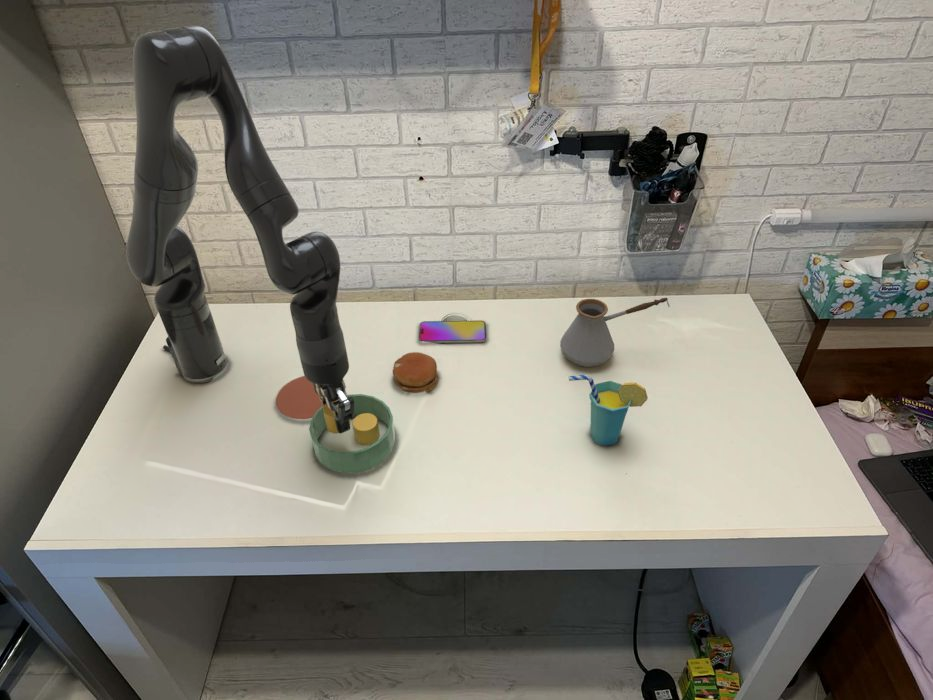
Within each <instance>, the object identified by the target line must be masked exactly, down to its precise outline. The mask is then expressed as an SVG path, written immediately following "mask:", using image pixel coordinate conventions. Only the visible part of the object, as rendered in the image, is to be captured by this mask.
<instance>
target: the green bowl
mask: <svg viewBox="0 0 933 700" xmlns="http://www.w3.org/2000/svg"><path fill="white" fill-rule="evenodd" d="M347 397H348V398H351V397H352V398H353V399H354V416H358V415H360V414H363V413H370V414H373V415H375V416H376V418H377V420H381V421H382V422H384V423H385V425H386V426H387V429H386V431H385V433H384V434H383V435H382V436H381V437H380V438H379V439H378V440H377V441H375V442H373V443H371V444H370V445H369V446H367V447H365V448H362V449H358V450H354V451H340V450H339V451H338V450H334V449H329V448H328V447H326V446H325V445H324V446H323V445H322V444H320V442H319V438H320V437H321V435H322V433H323V432H324V430H325V429H327V426H326V421H325V417H324V413H323V406H322V407H321V408H320V409H318V410H317V411H316V413H315V414H314V416H313V418H310V423H309V428H308V430H309V434H310V438H311V442H312V447H313V450H314V454H315V457H316V459H317V460H318V461H319V463H320V464H321V465H322V466H324V467H325V468H327V469H329V470H331V471H333V472H338V473H342V474H351V473H353V474H355V473H360V472H361V473H362V472H365V471H367V470H371V469H372V468H374V467H377V466H378V465H379V464H381V463H383V462H384V461H385V460H386V459H387V458H388V456H390V455H391V453H392V451H393V449H394V447H395V444H396V431H395V423H394V418H393V417H394V416H393V413H392V411H391V408H390V406H388V405H387V404H386V403H385V402H384V401H383V400H382V399H380V398H378V397H376V396H373V395H368V394H363V393H357V394H356V393H355V394H347Z"/></svg>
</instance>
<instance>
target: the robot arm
mask: <svg viewBox="0 0 933 700" xmlns="http://www.w3.org/2000/svg"><path fill="white" fill-rule="evenodd" d="M132 75H133V86H134V99H135V111H136V112H135V113H136V141H135V142H136V144H135V158H134V170H133V171H134V172H133V173H134V175H133V181H134V182H133V183H134V184H133V185H134V187H133V189H134V191H133V205H132V215H131V222H130V227H129V231H128V237H127V242H126V247H125V255H126V256H125V258H126V262H127V265H128V269H129V270H130V272H131V274H132V275H133V276H134V277H135V279H136V280H137V281H138V282H139V283H141V284H143V285H145V286H148V287H159V288H158V289H157V290H156V292H155V294H154V297H153V298H154V299H153V300H154V301H153V302H154V304H155V305H154V306H155V307H156V310H157V313H158V315H159V317H160V319H161V322H162V324H163V327H164V329H165V332H166V334H167V337H166V338H165V343H166V345H165V344H164V345H163V346H162V348H163V349H164V351H165V350H166V351H167V352H169V353H170V354H171V358H172V359H173V362H174V364H175V367H176V369H177V372H178V374H179V375H181V376H182V377H183V378H184V380H186V381H187V382H190V383H194V384H204V383H209V382H211V381H212V380H213V379H214V378H215V377H216V376H218V375H220V374H221V373H223V371H224V370H225V369H226V368H227V365H228V358H227V356H226V354H225V350H224V347H223V344H222V341H221V339H220V336H219V333H218V330H217V326H216V324H215V320H214V318H213V314H212V312H211V309H210V305H209V302H208V299H207V297H206V293H205V291H206V284H205V280H204V276H203V272H202V269H201V265H200V262H199V261H200V260H199V257H198V254H197V251H196V249H195V245H194V243H193V241H192V240H191V238H190V237H189V235H188V234H187V233H186V232H185V230H184V229H182V228H181V227H180V226H178V225H179V224H180V222H181V221H182V219H184V217H185V215H186V213H187V212H188V210H189V209H190V207H191V205H192V203H193V201H194V198H195V194H196V190H197V182H198V175H199V163H198V159H197V157H196V154H195V152H194V150H193V149H192V147H191V145H189V143H188V142H187V141H186V139H185V138H184V137H183V136H182V135H181V134H180V132H179V131H178V130H177V128H176V127H175V126H176V125H175V124H176V123H175V116H176V111H177V108H178V106H179V105H180V104H182V103H185V102H189V101H194V100H198V99H203V98H208V100H209V101H210V103H211V104H212V106H213V107H214V108H215V110H216V112H217V114H218V117H219V119H220V122H221V126H222V130H223V143H224V148H223V149H224V153H223V154H224V170H225V176H226V179H227V184H228V185H229V188H230V190H231V192H232V194H233V196H234V198H235V199H236V201H237V203H238V204H239V206H240V207H241V209H242V211H243V212H244V214H245V216H246V217H247V219H248V220H249V222H250V224H251V226H252V228H253V231H254V233H255V235H256V239H257V241H258V244H259V246H260V250H261V254H262V257H263V261H264V265H265V269H266V272H267V275H268V277H269V280H270V281H271V283H272V284H273V285H274V286H275V287H276V289H278V290H279V291H281V292H282V293H285V294H287V295H294V296H293V297H292V299H291V300H290V303H289V311H290V316H291V320H292V324H293V328H294V333H295V342H296V343H295V344H296V347H297V352H298V355H299V359H300V363H301V368H302V372H303V376H305V377H306V379H307V380H309V381H310V382H312V383H313V386H314V389H315V392H316V393H317V394H318V395H319V397H320V401H321V402H322V403H323V407H324V405H325V404H326V403H327V405H328V408H330V409H331V410H332V411H333V414H334V418H335V422H336V427H337V431H338V432H339V433H338V434H340V435H341V434H344V433H346V432H348V431H350V429H351V423H350V424H349V420H350V421H351V420H354V418H355V415H354V399H353V398H352V397H351V398H348V397H347V395H348V394H347V391H346V388H347V386H346V382H345V380H344V378H345V376H346V375H347V374H348V372H349V369H350V363H349V358H348V357H349V356H348V351H347V347H346V341H345V336H344V332H343V329H342V327H341V323H340V319H339V318H340V317H339V313H338V308H337V299H338V292H339V285H340V278H341V277H340V276H341V257H340V253H339V250H338V248H337V246H336V244H335V242H334V240H332V238H331V237H330V236H329V235H327V234H325V233H324V232H321V231H311V232H307V233H306V234H303V235H301V236H299V237H297V238H295V239H293V240H290V241H289V242H285V240H284V236H283V231H284V229H286V227H287V226H289V225H290V224H292V223H293V222H294V221H295V220H296V219H297V218H298V216H299V212H300V210H299V207H298V204H297V202H296V201H295V199H294V197H293V195H292V194H291V191H290V190H289V189H288V187H287V185H286V184H285V181H283V178H282V177H281V175H280V173H279V172H278V169H276V166H275V165H274V164H273V162H272V159H271V158H270V156H269V154H268V152H267V150H266V148H265V146H264V144H263V142H262V140H261V137H260V135H259V131H258V130H257V128H256V124H255V123H254V120H253V118H252V114H251V112H250V110H249V108H248V105H247V103H246V100H245V98H244V95H243V92H242V91H241V88H240V86H239V84H238V82H237V79H236V76H235V74H234V72H233V69H232V67H231V65H230V63H229V61H228V58H227V56H226V54H225V52H224V51H223V49H222V47H221V45H220V43H219V42H218V40H217V39H216V37H214V35H213V34H212V33H211V32H210V31H209V30H208V29H206V28H205V27H202V26H199V25H184V26H179V27H170V28H165V29H159V30H153V31H149V32H144V33H143V34H141V35H140V36H138V37H137V39H136V41H135V42H134V46H133V52H132ZM338 399H339V400H338ZM336 400H338V401H336ZM331 401H336V402H333V403H332V402H331ZM337 408H338V412H337Z"/></svg>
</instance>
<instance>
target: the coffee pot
mask: <svg viewBox="0 0 933 700" xmlns="http://www.w3.org/2000/svg"><path fill="white" fill-rule="evenodd" d="M668 300H669V299H668V297H662V298H660V299H654V300H653V301H648V302H644V303H640V304H638V305H635V306H633V307H630V308H627V309H625V310H623V311H619V312H616V313H612V314H609V315H607V314H608V312H609V308H608V305H607V304H606V303H605V302H604V301H602V300H600V299H596V298H584V299H581V300H580V301H578V302H577V303H576V305H575V309H576V312H577V313H578V314H577V315H576V317H574V319H573V321H572V322H571V324H570V325H569V327H568V328H567V329H566V331H565V332H564V334H563V335H562V337H561V339H560V343H559V344H560V351H561V352H562V354H563V355H564V356H565V358H566V359H567V360H569V361H570V362H572V363H573V364H574V365H576V366H580V367H583V368H593V367H597V366H599V365H602V364H604V363H606V362H608V360H610V358H611V357H612V356H613V355H614V352H615V343H614V340H613V338H612V335H611V332H610V330H609V327H608V324H607V322H608V321H610V320H611V321H612V320H613V319H617V318H619V317H622V316H624V315H629V314H633V313H637V312H640V311H641V312H642V311H644V310H647V309H649V308H651V307H653V306H658V305H659V304H663V303H665V302H666V304H667V307H668V308H670V307H671V306H670V303H669V301H668Z"/></svg>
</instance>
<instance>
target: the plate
mask: <svg viewBox="0 0 933 700" xmlns="http://www.w3.org/2000/svg"><path fill="white" fill-rule="evenodd" d="M275 405H276V408H277V410H278V411H279V412H280V413H281V414H282V415H283V416H285V417H288V418H290V419H295V420H309V419H310V420H311V419H312V418H313V416H314V414H315V413H316V411H317V410H318V409H320V408H321V407H322V406H323V403H322V402H321V401H320V397H319V395H318V394H317V393H316V392H315V389H314V386H313V383H312V382H310V381H309V380H307V379H306V377H305V376H304V375H302V376H299V377H297V378H294V379H292V380H290V381H289V382H287V383H285V385H284V386H282V387H281V388H280V390H278V393H277V395H276V398H275Z"/></svg>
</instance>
